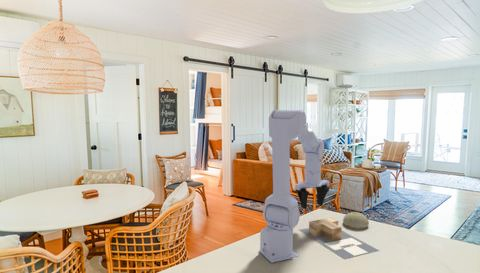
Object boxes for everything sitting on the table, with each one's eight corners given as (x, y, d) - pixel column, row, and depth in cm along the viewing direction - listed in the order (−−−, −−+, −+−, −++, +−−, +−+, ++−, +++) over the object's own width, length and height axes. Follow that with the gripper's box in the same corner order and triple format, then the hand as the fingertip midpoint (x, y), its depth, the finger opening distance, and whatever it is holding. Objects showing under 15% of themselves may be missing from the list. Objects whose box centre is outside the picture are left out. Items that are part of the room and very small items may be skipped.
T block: (324, 242, 99) (325, 230, 98) (308, 232, 106) (309, 221, 106) (348, 237, 103) (348, 225, 102) (331, 228, 110) (331, 217, 110)
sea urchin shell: (337, 221, 113) (344, 203, 117) (343, 231, 118) (350, 214, 121) (361, 228, 107) (368, 209, 110) (367, 238, 111) (373, 220, 115)
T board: (344, 260, 88) (344, 259, 87) (298, 231, 109) (298, 229, 108) (379, 252, 93) (379, 250, 93) (329, 225, 114) (329, 224, 114)
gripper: (304, 174, 104) (303, 212, 106) (335, 171, 111) (334, 206, 112) (291, 170, 111) (291, 206, 112) (322, 167, 117) (321, 201, 118)
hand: (311, 206), depth 112 cm, fingers open, 7 cm apart
